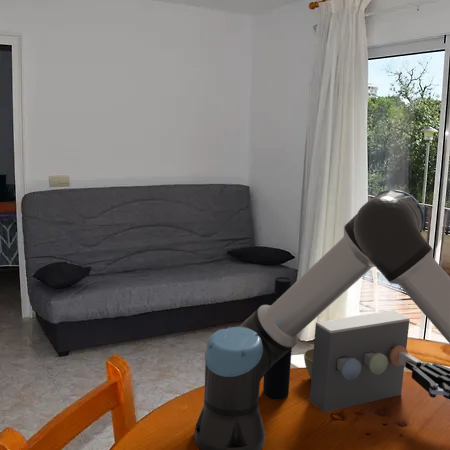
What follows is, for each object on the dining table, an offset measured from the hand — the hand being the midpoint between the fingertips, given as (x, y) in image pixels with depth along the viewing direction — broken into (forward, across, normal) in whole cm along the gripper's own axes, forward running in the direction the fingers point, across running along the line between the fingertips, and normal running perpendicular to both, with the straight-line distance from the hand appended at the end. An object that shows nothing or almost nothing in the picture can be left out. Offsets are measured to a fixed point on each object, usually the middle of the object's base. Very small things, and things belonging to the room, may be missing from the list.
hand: (401, 357), depth 139 cm
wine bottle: (+15, -26, -12) cm, 32 cm away
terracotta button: (+2, 0, -2) cm, 3 cm away
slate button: (0, -16, -2) cm, 16 cm away
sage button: (+1, -8, -2) cm, 9 cm away
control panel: (+5, -8, -12) cm, 15 cm away
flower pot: (+16, -11, -12) cm, 23 cm away
